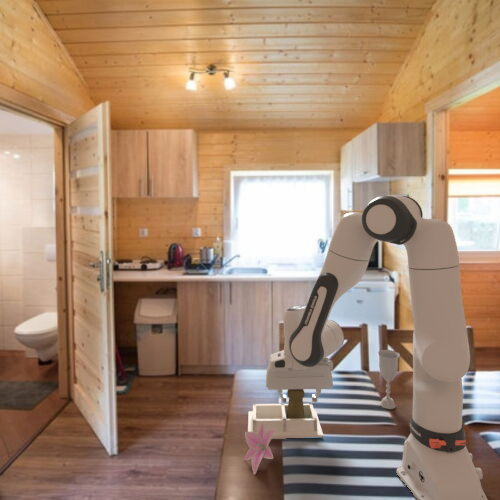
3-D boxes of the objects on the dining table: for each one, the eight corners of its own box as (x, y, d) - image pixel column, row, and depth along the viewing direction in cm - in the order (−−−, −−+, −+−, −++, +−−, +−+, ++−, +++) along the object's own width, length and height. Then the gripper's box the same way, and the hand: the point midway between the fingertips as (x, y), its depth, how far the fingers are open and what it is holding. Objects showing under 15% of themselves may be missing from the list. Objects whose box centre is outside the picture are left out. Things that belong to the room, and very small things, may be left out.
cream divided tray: (323, 438, 115) (323, 423, 115) (247, 439, 116) (247, 424, 115) (315, 413, 129) (315, 400, 129) (248, 414, 130) (248, 401, 129)
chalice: (401, 410, 130) (403, 357, 128) (380, 410, 130) (382, 358, 128) (394, 399, 138) (395, 349, 136) (374, 400, 138) (375, 349, 136)
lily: (246, 448, 113) (233, 426, 109) (284, 433, 112) (272, 411, 108) (251, 488, 102) (236, 466, 98) (293, 471, 101) (280, 448, 97)
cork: (305, 417, 125) (305, 383, 124) (306, 427, 119) (306, 392, 118) (286, 416, 126) (285, 383, 124) (285, 426, 120) (285, 391, 118)
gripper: (331, 353, 123) (331, 396, 124) (265, 355, 123) (266, 397, 125) (335, 361, 117) (335, 406, 118) (265, 362, 117) (266, 407, 119)
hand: (299, 401), depth 122 cm, fingers open, 8 cm apart
